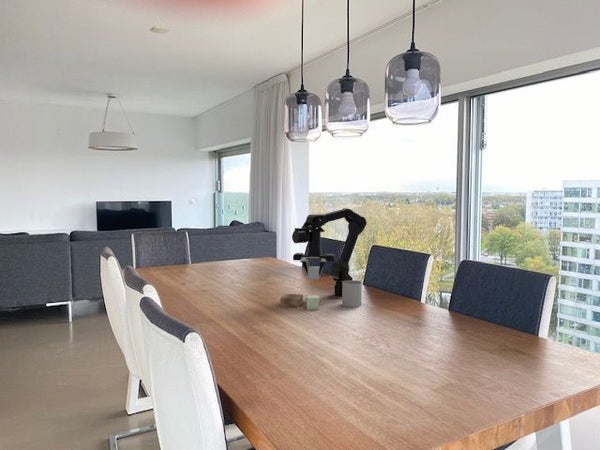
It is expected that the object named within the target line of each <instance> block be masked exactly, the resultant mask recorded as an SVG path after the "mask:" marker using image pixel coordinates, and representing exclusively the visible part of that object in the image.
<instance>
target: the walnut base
mask: <svg viewBox="0 0 600 450" xmlns="http://www.w3.org/2000/svg"><path fill="white" fill-rule="evenodd" d="M303 303H304V294H299V293H298V294H297V293H296V294H295V293H284V294H283V295H282V296H281V297H280V307H288V308H299V307H301V306H302V304H303Z"/></svg>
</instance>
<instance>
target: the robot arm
mask: <svg viewBox="0 0 600 450" xmlns="http://www.w3.org/2000/svg"><path fill="white" fill-rule="evenodd" d="M341 219H344V220H345V221H346V222H347V223H348V225H347V228H348V233H347V236H346V239H345V242H344V245H343V247H342V249H341V252H340V254H339V255H340V256H339V259H338V260H337V261H336V255H335V254H334V253H325V255H322V251H323V249H322V246H321V240H322V239H321V235H322V234H321V233H326V232H325V229H323V226H325V225H326V224H327V223H330V222H333V221H337V220H341ZM367 224H368V221H367V219H366V218H365V216H362V215H360V214H358V213H356V212H355V211H354V210H352V209H351V208H348V207H347V208H344V207H343V208H341V209H338V210H333V211H330V212H326V213H321V214H320V213H316V214H315V213H313V214H312V213H311V214H308V215H307V217H306V219H305V222H304V223H303V225H302V226H301V227H300V228H299V227H295V228H294V230H293V232H292V234H291V239H292V242H293V243H294V244H303V243H305V244H307V245H306V253H307V254H304V252H295V253H294V254H293V256H292V260H293V261H299V262H300V263H302V265H303V268H304V270H305V271H306V275H307V276H308V267H309V266H310V265H309V260H320V262H319V267H320V269H319V276H320V277H321V274H322V272H323V269H324V266H325V265H326V264H327V263H328V262H330V263H331V262H332V265H331V267H330V276H331V277H332V280H333V282H335V284H334V296H336V297H337V296H340V297H342V288H343V281H347V280H353V277H352V275H350V274H349V273H350V272H349V271H350V265H349V263H350V260H351V258H352V254H353V251H354V249H355V246H356V243H357V240H358V237H359V236H360V235H361V234H362V233H363V231H365V228H366V226H367Z"/></svg>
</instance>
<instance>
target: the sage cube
mask: <svg viewBox="0 0 600 450" xmlns="http://www.w3.org/2000/svg"><path fill="white" fill-rule="evenodd" d="M305 307H306V310H320V296H319V295H318V294H315V295H314V294H308V295H306V306H305Z"/></svg>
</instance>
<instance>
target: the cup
mask: <svg viewBox="0 0 600 450" xmlns="http://www.w3.org/2000/svg"><path fill="white" fill-rule="evenodd" d="M362 292H363V282H362V281H361V280H360V281H359V280H355V279H354V280H347V281H343V288H342V296H341V297H342V298H341V299H342V300H341V301H342V306H345V307H350V308H358V307H361V306H362V302H363V301H362V299H363V298H362V296H363V293H362Z"/></svg>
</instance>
